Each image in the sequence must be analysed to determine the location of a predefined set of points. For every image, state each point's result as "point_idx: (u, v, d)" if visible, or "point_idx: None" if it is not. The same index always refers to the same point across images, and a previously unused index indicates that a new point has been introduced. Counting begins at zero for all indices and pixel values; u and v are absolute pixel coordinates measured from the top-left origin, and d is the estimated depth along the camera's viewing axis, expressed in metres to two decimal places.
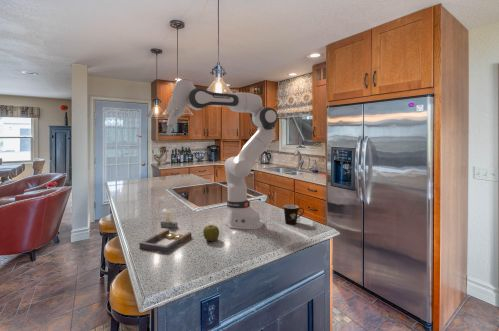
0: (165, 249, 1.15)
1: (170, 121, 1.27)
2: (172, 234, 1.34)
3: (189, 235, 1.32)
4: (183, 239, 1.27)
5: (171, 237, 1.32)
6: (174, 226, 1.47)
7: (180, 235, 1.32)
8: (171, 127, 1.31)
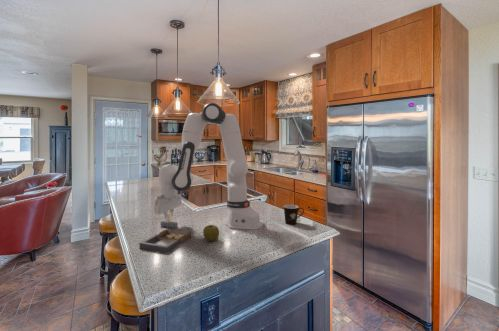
0: (165, 249, 1.15)
1: (154, 211, 1.39)
2: (172, 234, 1.34)
3: (189, 235, 1.32)
4: (183, 239, 1.27)
5: (171, 237, 1.32)
6: (174, 226, 1.47)
7: (180, 235, 1.32)
8: (165, 212, 1.45)
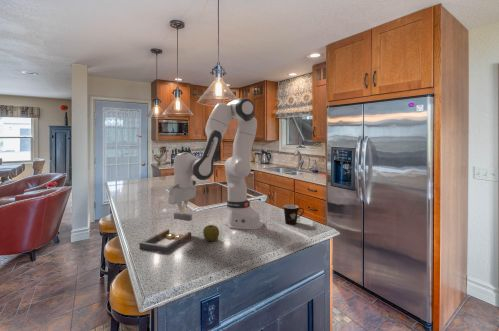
0: (165, 249, 1.15)
1: (169, 201, 1.30)
2: (172, 234, 1.34)
3: (189, 235, 1.32)
4: (183, 239, 1.27)
5: (171, 237, 1.32)
6: (189, 218, 1.37)
7: (180, 235, 1.32)
8: (179, 203, 1.36)
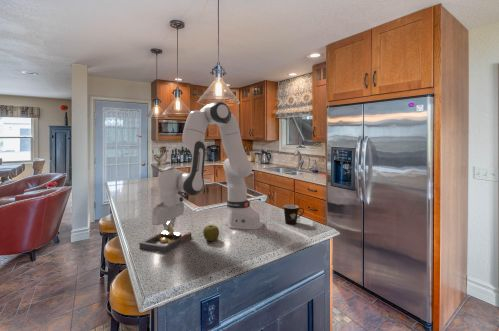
0: (165, 249, 1.15)
1: (152, 222, 1.19)
2: (165, 237, 1.29)
3: (189, 235, 1.32)
4: (183, 239, 1.27)
5: (165, 241, 1.27)
6: None
7: (174, 239, 1.28)
8: (164, 223, 1.25)
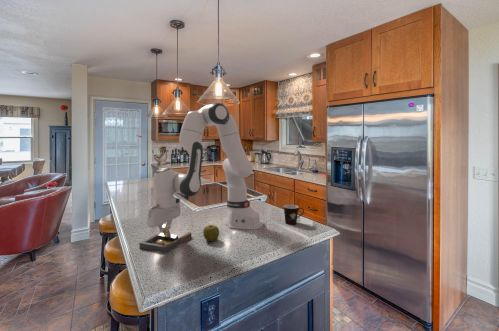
0: (165, 249, 1.15)
1: (148, 224, 1.16)
2: (162, 240, 1.27)
3: (189, 235, 1.32)
4: (183, 239, 1.27)
5: (162, 243, 1.24)
6: None
7: (170, 241, 1.25)
8: (159, 225, 1.22)
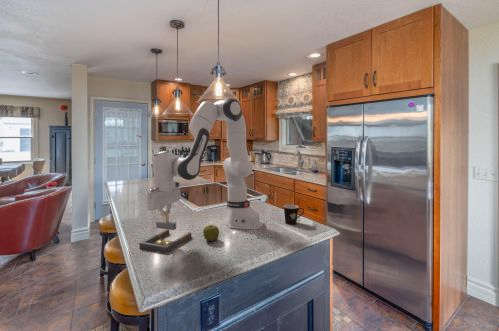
0: (165, 249, 1.15)
1: (148, 207, 1.15)
2: (161, 240, 1.25)
3: (189, 235, 1.32)
4: (183, 239, 1.27)
5: (161, 244, 1.23)
6: (172, 227, 1.23)
7: (169, 242, 1.24)
8: (160, 208, 1.21)
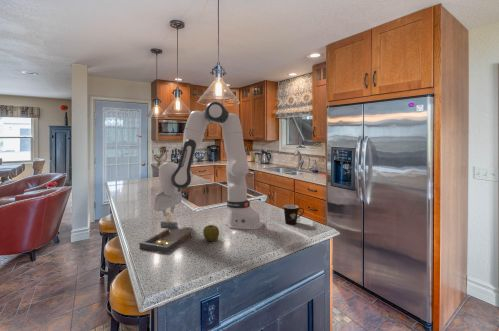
0: (165, 249, 1.15)
1: (154, 208, 1.39)
2: (161, 240, 1.26)
3: (189, 235, 1.32)
4: (183, 239, 1.27)
5: (161, 244, 1.23)
6: (174, 226, 1.47)
7: (169, 242, 1.24)
8: (163, 210, 1.44)
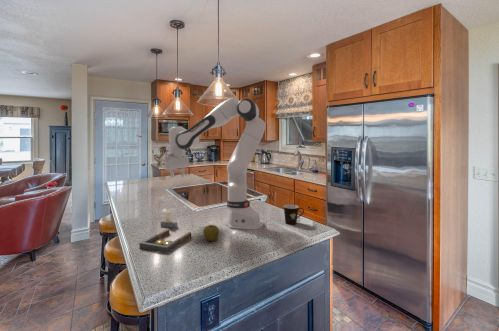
0: (165, 249, 1.15)
1: (165, 167, 1.52)
2: (161, 240, 1.26)
3: (189, 235, 1.32)
4: (183, 239, 1.27)
5: (162, 243, 1.24)
6: (174, 226, 1.47)
7: (169, 242, 1.24)
8: (171, 171, 1.55)
